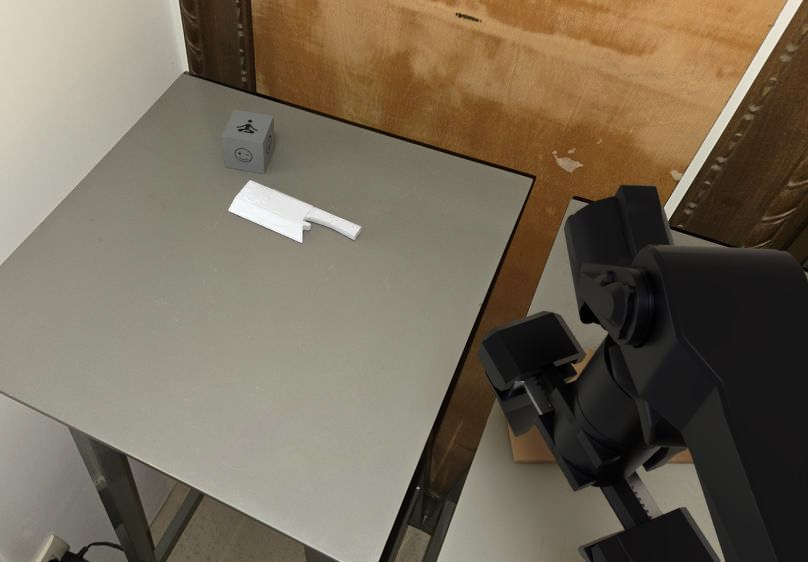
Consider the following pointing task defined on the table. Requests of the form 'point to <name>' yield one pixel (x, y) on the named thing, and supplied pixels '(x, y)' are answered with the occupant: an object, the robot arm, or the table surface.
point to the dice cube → (248, 141)
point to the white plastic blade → (285, 212)
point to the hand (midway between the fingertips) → (551, 489)
